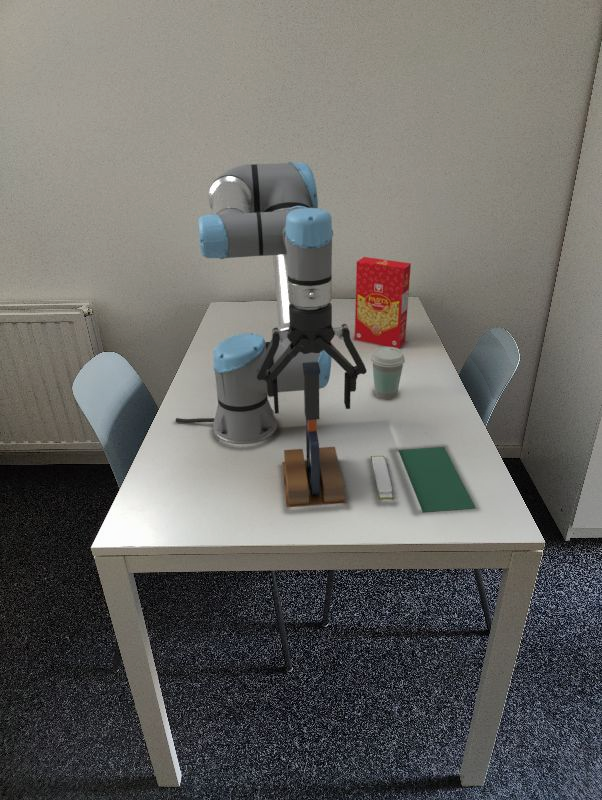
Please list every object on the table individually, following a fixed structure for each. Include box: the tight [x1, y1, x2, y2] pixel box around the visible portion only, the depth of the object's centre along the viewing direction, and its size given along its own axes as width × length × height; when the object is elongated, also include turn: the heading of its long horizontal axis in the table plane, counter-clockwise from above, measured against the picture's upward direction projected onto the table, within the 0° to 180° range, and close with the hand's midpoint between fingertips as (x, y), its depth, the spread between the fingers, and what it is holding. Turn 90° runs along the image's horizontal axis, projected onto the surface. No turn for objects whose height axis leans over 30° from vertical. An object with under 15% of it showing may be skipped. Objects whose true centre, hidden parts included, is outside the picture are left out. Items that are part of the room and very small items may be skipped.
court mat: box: [397, 446, 476, 513], centre depth 124 cm, size 12×21×1 cm, turn 5°
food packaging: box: [354, 256, 412, 349], centre depth 177 cm, size 15×5×25 cm, turn 60°
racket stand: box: [281, 446, 348, 508], centre depth 121 cm, size 15×12×5 cm
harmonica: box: [370, 455, 394, 501], centre depth 123 cm, size 15×3×2 cm, turn 1°
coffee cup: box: [370, 346, 406, 400], centre depth 152 cm, size 9×8×12 cm
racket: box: [302, 362, 320, 496], centre depth 115 cm, size 11×3×27 cm, turn 5°
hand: (311, 407), depth 112 cm, fingers open, 13 cm apart
